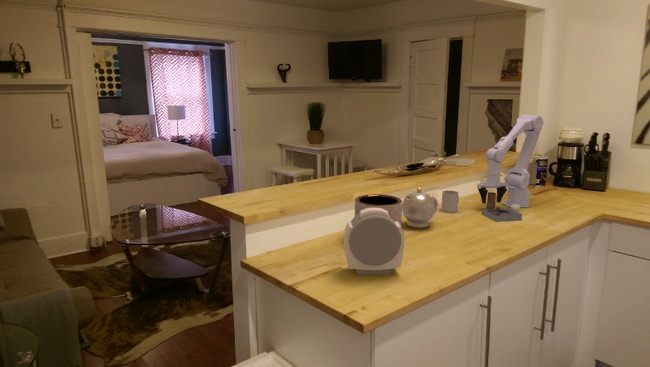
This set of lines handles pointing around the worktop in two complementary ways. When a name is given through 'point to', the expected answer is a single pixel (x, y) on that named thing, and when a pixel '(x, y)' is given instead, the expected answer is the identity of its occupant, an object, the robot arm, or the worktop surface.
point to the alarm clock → (373, 242)
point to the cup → (450, 201)
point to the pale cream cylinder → (515, 208)
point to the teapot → (419, 208)
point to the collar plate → (501, 214)
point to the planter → (381, 205)
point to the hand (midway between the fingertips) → (491, 202)
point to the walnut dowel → (491, 200)
